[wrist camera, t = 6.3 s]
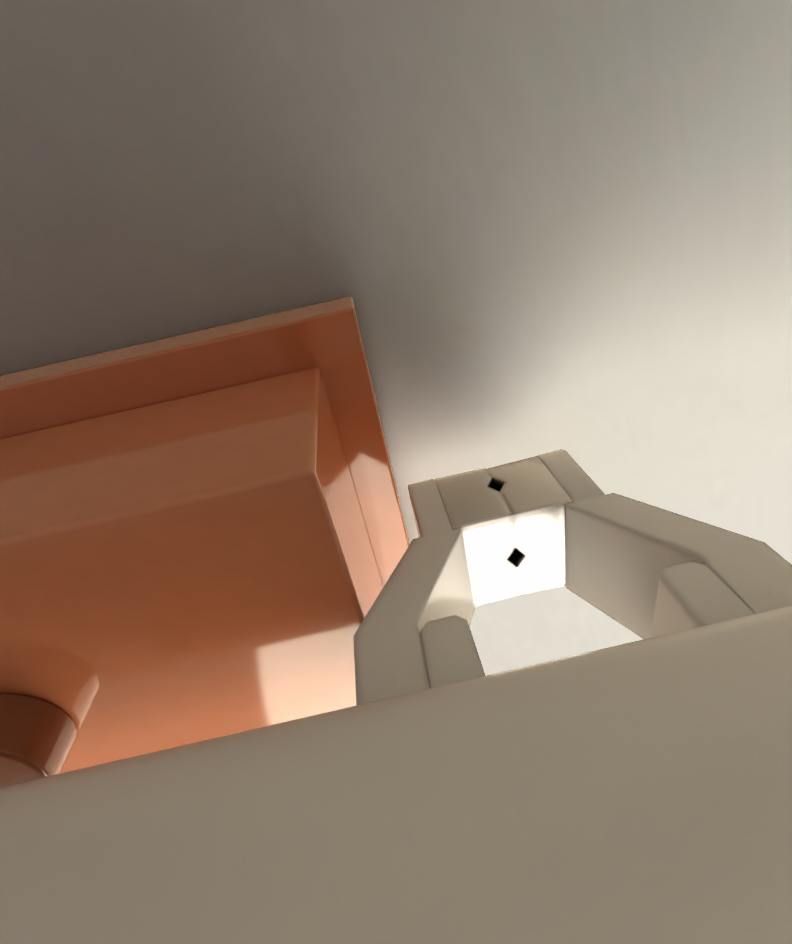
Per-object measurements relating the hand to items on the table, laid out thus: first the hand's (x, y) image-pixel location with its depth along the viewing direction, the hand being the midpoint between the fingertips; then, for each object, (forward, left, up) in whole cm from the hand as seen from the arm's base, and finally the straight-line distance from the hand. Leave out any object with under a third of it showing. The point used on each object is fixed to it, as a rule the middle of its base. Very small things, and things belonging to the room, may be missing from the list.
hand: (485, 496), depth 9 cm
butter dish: (+8, 0, -2) cm, 8 cm away
